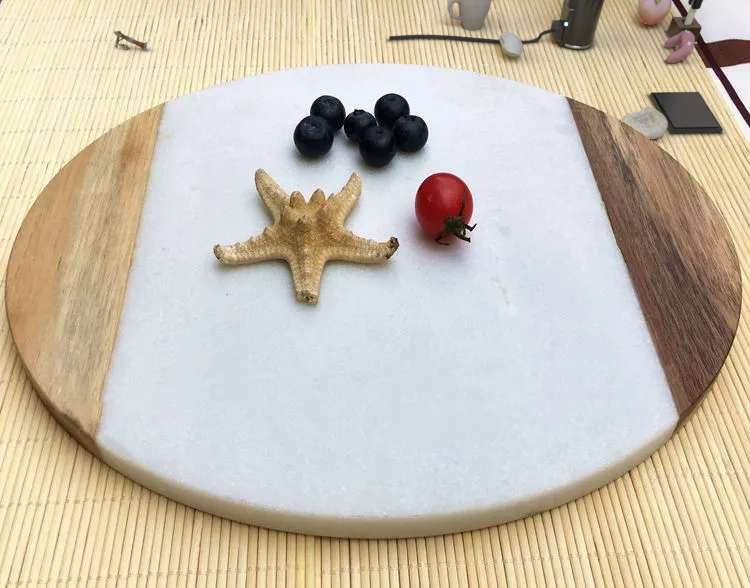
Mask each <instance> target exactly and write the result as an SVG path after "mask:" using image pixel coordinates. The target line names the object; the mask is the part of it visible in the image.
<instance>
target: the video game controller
mask: <svg viewBox="0 0 750 588" xmlns="http://www.w3.org/2000/svg"><path fill="white" fill-rule="evenodd" d="M694 42H695V37H694V35H693V34H692V32H690V31H687V30H685V31H682V32H681V33H679V34H677V35H675V36H673V37H670V38H667V39H666V40H665V42H664V43H663V45H664V47H665V48H666V49H671V48H674V52H672V53H670V54H669V55H668V56H667V57H666V59H665V61H666V63H667V64H675V63H678V62H680V61H683V60H684V59H686V58H689V56H691V55H692V54H693V53H694V49H695V47H696V46H695V43H694Z"/></svg>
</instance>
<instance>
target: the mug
mask: <svg viewBox="0 0 750 588" xmlns="http://www.w3.org/2000/svg"><path fill="white" fill-rule="evenodd" d="M454 4H458V13H459V15H456V14H455V13H454V7H453V6H454ZM491 5H492V0H448V1H447V7H446V9H447V12H448V15H449V17H450V18H451V19H452V20H455V21H461V26H462V28H464V29H466V30H469V31H477V30H479V29H481V28H482V25H483V23H484V22H485V20H486V18H487V16H488V14H489V11H490V8H491Z"/></svg>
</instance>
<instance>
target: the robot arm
mask: <svg viewBox="0 0 750 588" xmlns="http://www.w3.org/2000/svg"><path fill="white" fill-rule="evenodd" d="M692 1H693V3H692ZM703 1H704V0H688V2H687V4H688V5H689V6H690V7H691V8H692V9H697V10H700V9H701V7H702V5H703ZM604 4H605V0H563V4H562V7H561V11H560V15H559V19H552V21H551V25H550V28H549V29H546V30H543V31H542V32H540V33H539V35H538V36H537V37H535V38H533V39H530V40H521V42H522V45H528V44H533V43H537V42H539V41H540V40H541V39H542V38H543V37H544V35H547V34H551V36H552V38H553V40H554V41H557V42H558V44H559V46H560V47H561V48H567V49H571V50H578V51H579V50H586V49H589V48H591V47H592V46H593V44H594V39H595V36H596V32H597V28H598V25H599V21H600V17H601V14H602V10H603V8H604ZM691 4H692V6H691ZM408 39H439V40H440V39H441V40H457V41H465V42H467V41H468V42H477V43H478V42H479V43H490V44H501V43H500V40H499V39H495V38H484V37H472V36H460V35H450V34H449V35H446V34H402V35H401V34H400V35H389V37H388V40H390V41H392V40H395V41H396V40H408Z"/></svg>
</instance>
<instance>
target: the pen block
mask: <svg viewBox="0 0 750 588" xmlns="http://www.w3.org/2000/svg"><path fill="white" fill-rule="evenodd" d="M686 17H687V16H672V17H671V20H670V22H669V26H668V29H667V31H666V32H667V34H668V35H669V37H670V38H671V37H673V36H675V35H677V34H679V33H681V32H682V31H685V30H687V31H690V32H692V34H693V35H694V37H695V42H694V44H695V43H697V41H698V38H699V36H700V34H701V31H702V28H703V27H702V25H701V24H700V23H699V21H698V20H697V19H696V16H694V18H693V21H692V24H691V25H684V23H685V20H686Z"/></svg>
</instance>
